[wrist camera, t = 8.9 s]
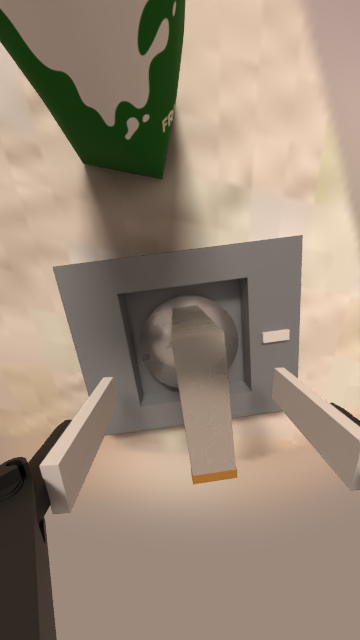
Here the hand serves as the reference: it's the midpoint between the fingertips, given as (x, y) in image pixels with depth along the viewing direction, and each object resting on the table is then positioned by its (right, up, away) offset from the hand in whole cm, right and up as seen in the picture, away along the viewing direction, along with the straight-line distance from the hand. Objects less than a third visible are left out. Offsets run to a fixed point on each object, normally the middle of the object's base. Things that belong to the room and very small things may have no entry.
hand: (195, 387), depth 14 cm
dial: (0, +3, +6) cm, 6 cm away
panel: (0, +3, +6) cm, 6 cm away
